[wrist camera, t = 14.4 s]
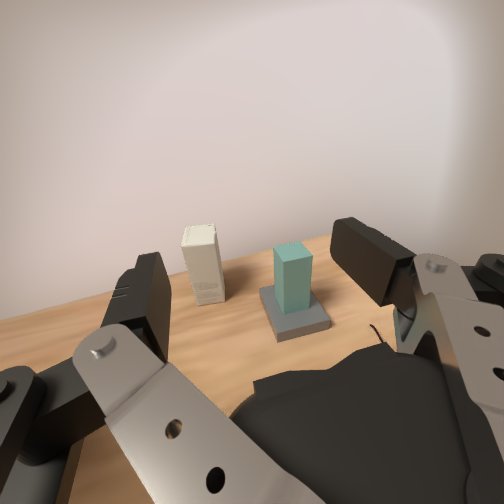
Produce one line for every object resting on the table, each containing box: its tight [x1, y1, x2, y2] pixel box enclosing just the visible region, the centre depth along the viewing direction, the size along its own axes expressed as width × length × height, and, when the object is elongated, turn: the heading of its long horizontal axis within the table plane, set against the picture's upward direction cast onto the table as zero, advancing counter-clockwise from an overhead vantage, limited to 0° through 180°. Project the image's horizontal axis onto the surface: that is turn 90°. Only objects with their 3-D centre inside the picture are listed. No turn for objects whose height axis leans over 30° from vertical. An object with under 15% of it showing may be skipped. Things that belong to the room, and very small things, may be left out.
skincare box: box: [181, 224, 225, 306], centre depth 49 cm, size 8×7×16 cm
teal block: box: [273, 241, 313, 315], centre depth 41 cm, size 5×5×12 cm
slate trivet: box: [259, 285, 331, 343], centre depth 45 cm, size 10×12×2 cm
